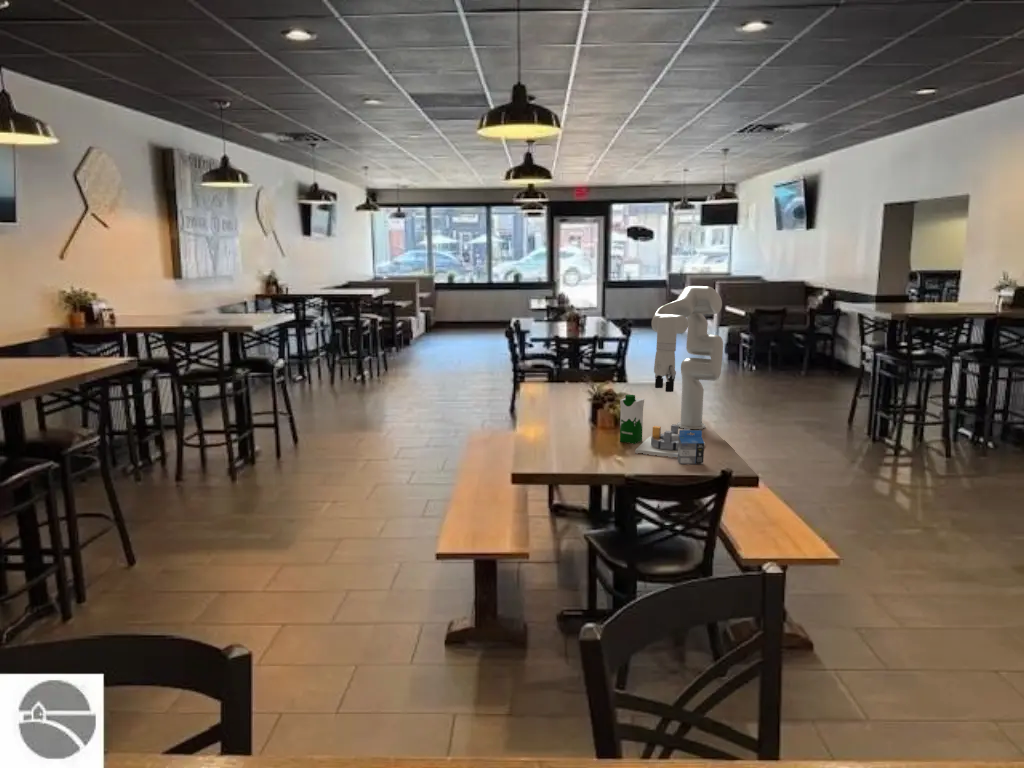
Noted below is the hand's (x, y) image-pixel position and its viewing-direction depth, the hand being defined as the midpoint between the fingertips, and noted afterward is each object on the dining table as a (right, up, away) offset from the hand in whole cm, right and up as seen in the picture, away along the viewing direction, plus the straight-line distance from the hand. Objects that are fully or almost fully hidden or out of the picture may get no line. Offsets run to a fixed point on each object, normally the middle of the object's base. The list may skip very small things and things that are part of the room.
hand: (664, 389), depth 292 cm
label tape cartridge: (+7, -28, -15) cm, 32 cm away
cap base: (+3, -24, +4) cm, 25 cm away
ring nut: (+3, -22, +3) cm, 23 cm away
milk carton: (-10, -22, +16) cm, 29 cm away
